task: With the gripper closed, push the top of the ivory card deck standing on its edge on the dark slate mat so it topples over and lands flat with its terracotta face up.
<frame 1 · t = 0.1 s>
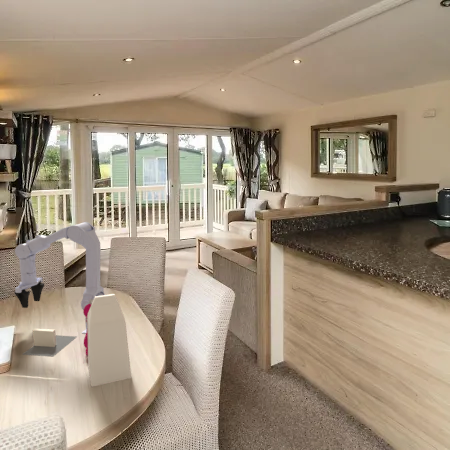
hand: (31, 304, 159), 10 cm above the table, tool pointing down, fingers open, 7 cm apart
mat: (51, 346, 143), on the table
deck: (45, 345, 143), resting on mat
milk: (109, 373, 124), on the table
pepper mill: (95, 353, 137), on the table
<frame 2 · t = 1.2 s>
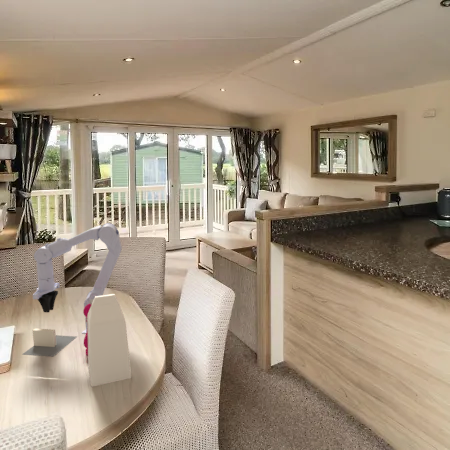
hand: (48, 310, 151), 10 cm above the table, tool pointing down, fingers closed
nothing on the table moved.
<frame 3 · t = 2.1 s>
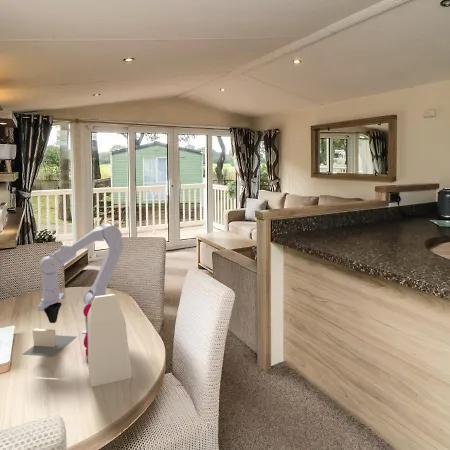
hand: (53, 322, 148), 7 cm above the table, tool pointing down, fingers closed
nothing on the table moved.
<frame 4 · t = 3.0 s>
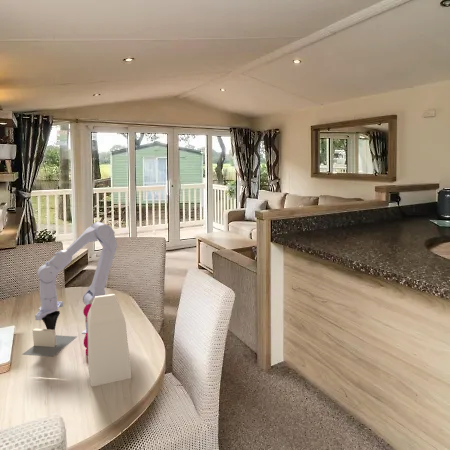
hand: (51, 331, 147), 4 cm above the table, tool pointing down, fingers closed
nothing on the table moved.
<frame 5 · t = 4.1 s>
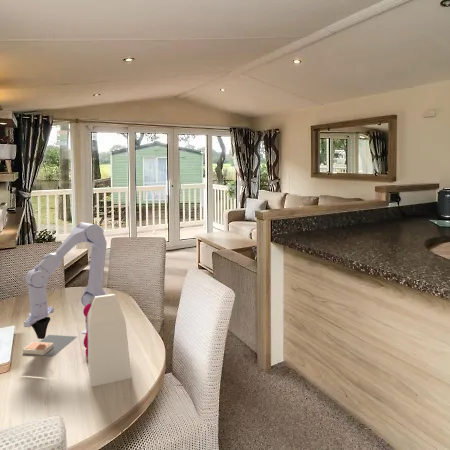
hand: (41, 338, 141), 4 cm above the table, tool pointing down, fingers closed
deck: (43, 344, 142), point 1 cm above the table, tilted 90°, touching mat
everything else where it was.
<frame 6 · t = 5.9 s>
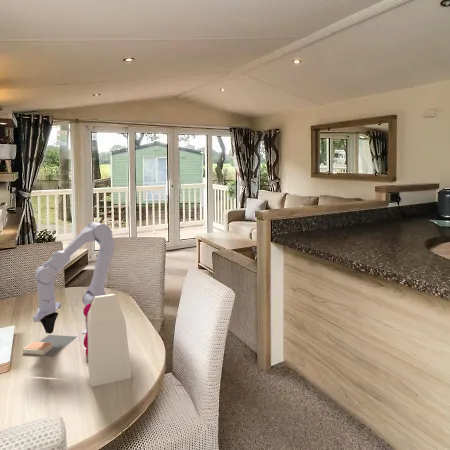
hand: (49, 332, 145), 4 cm above the table, tool pointing down, fingers closed
nothing on the table moved.
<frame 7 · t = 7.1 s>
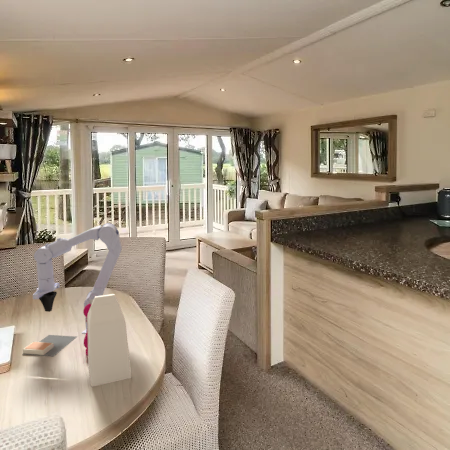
hand: (48, 310, 151), 10 cm above the table, tool pointing down, fingers closed
nothing on the table moved.
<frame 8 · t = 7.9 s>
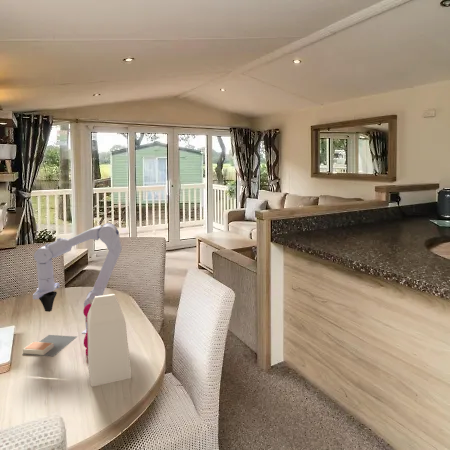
hand: (48, 310, 151), 10 cm above the table, tool pointing down, fingers closed
nothing on the table moved.
at the end: deck tilted 90°; deck inside the target area (1.6 cm from its centre), point 1.2 cm above the table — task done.
